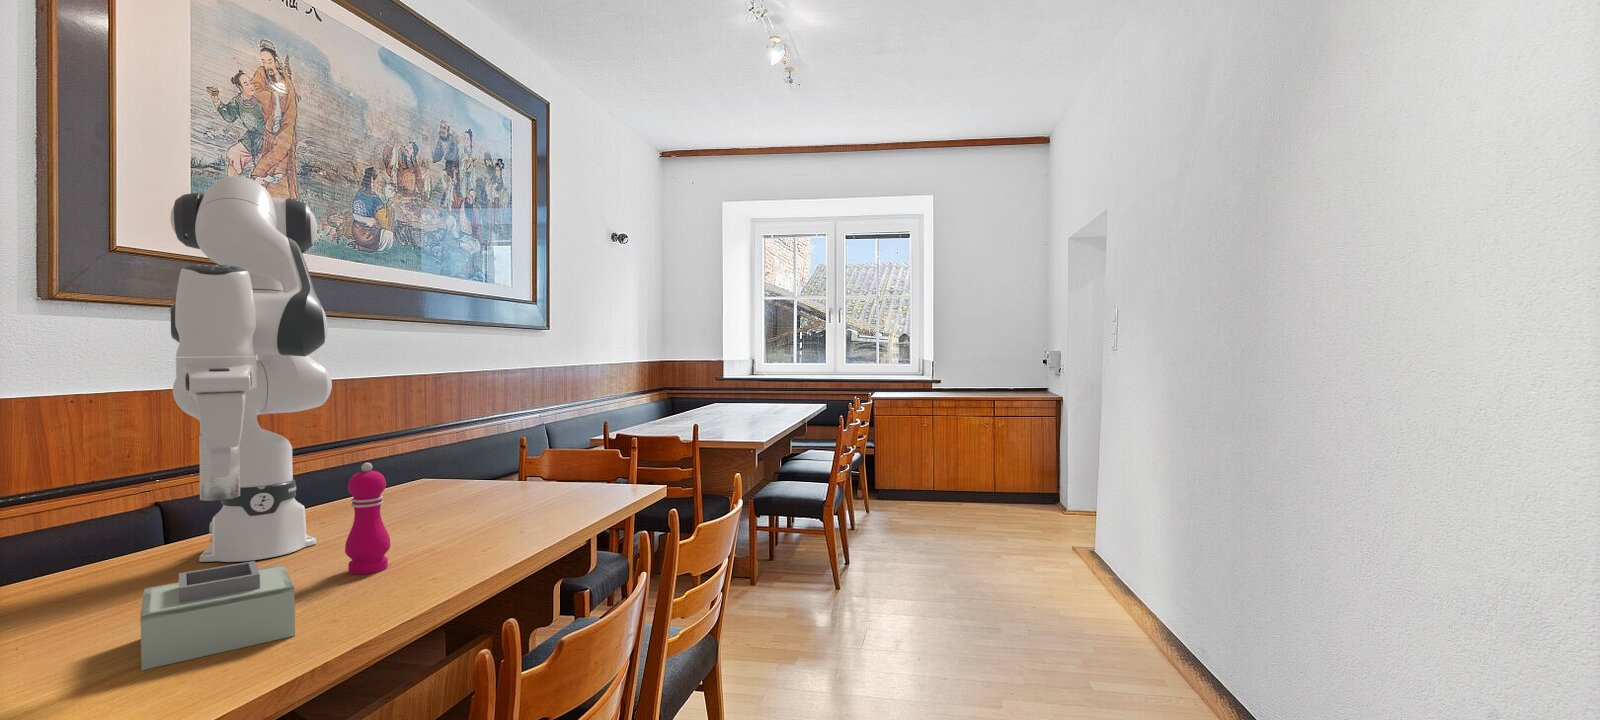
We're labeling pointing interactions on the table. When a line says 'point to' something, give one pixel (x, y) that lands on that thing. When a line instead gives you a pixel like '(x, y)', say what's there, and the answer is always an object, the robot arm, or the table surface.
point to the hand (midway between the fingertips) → (219, 474)
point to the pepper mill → (367, 523)
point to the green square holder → (215, 612)
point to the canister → (218, 486)
